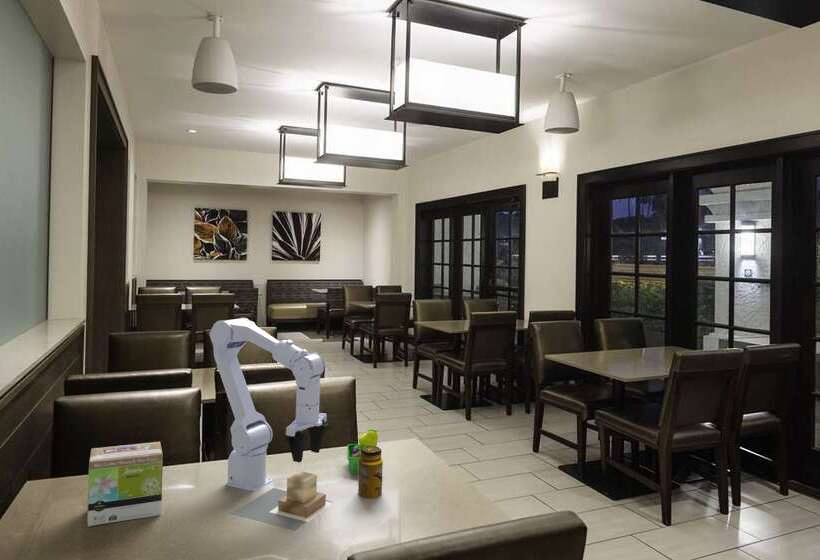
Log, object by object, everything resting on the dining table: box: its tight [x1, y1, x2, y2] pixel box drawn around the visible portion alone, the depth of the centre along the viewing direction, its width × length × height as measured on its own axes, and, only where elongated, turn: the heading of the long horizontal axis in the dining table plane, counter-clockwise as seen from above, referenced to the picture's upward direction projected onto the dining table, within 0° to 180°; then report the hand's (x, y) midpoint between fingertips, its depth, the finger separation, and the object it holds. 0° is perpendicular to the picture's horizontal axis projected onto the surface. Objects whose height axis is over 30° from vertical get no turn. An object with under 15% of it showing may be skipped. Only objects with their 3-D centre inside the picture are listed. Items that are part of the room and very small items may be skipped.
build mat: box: [230, 487, 335, 531], centre depth 133 cm, size 18×16×1 cm
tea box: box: [87, 441, 164, 528], centre depth 129 cm, size 15×10×15 cm
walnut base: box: [278, 491, 327, 518], centre depth 134 cm, size 8×8×2 cm
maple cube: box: [286, 470, 318, 503], centre depth 134 cm, size 5×5×5 cm
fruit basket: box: [346, 428, 379, 474], centre depth 161 cm, size 11×9×11 cm
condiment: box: [357, 446, 384, 499], centre depth 142 cm, size 7×8×12 cm
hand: (306, 456), depth 140 cm, fingers open, 7 cm apart
